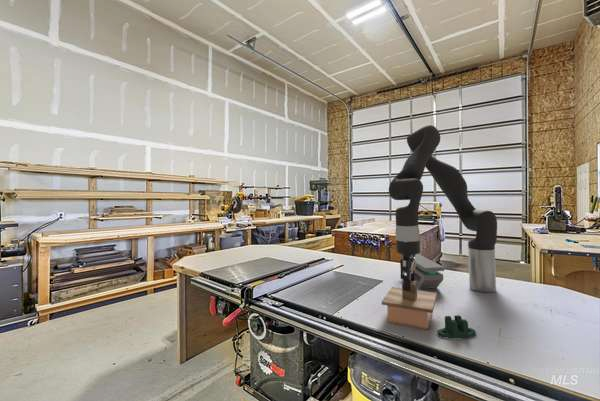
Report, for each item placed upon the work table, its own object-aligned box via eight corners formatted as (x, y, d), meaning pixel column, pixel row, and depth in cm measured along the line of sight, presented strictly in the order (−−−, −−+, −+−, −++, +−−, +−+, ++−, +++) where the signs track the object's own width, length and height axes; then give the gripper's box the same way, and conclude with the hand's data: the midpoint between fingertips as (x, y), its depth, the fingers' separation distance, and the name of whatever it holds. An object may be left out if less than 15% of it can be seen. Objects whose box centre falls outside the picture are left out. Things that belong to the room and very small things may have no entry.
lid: (392, 289, 101) (391, 273, 100) (436, 295, 93) (436, 278, 93) (381, 304, 88) (380, 286, 88) (432, 313, 80) (431, 293, 80)
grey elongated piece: (445, 293, 110) (444, 267, 110) (425, 294, 110) (425, 268, 110) (418, 275, 135) (417, 253, 135) (403, 275, 135) (402, 254, 135)
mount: (442, 340, 77) (441, 322, 76) (434, 332, 81) (433, 315, 81) (480, 338, 77) (479, 320, 77) (470, 330, 81) (469, 313, 81)
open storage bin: (395, 307, 99) (395, 291, 98) (432, 314, 92) (431, 296, 92) (387, 321, 88) (387, 303, 88) (428, 329, 82) (427, 310, 82)
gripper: (400, 234, 98) (401, 279, 98) (391, 241, 86) (392, 292, 86) (422, 235, 94) (424, 281, 94) (416, 242, 82) (418, 295, 82)
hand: (409, 286), depth 90 cm, fingers open, 8 cm apart
